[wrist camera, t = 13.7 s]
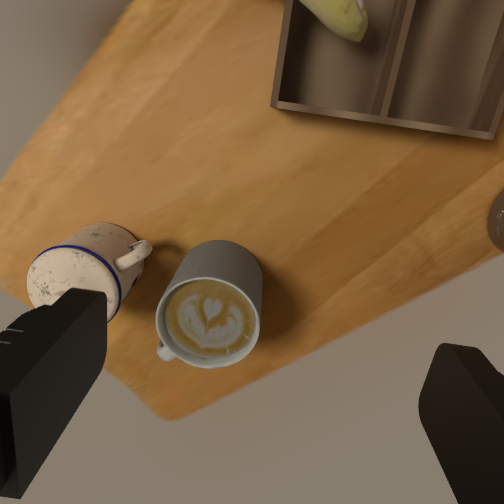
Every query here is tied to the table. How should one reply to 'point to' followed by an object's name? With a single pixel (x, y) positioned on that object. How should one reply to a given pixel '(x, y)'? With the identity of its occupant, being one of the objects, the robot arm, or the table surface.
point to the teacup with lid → (89, 266)
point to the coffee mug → (211, 307)
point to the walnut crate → (399, 66)
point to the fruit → (341, 16)
